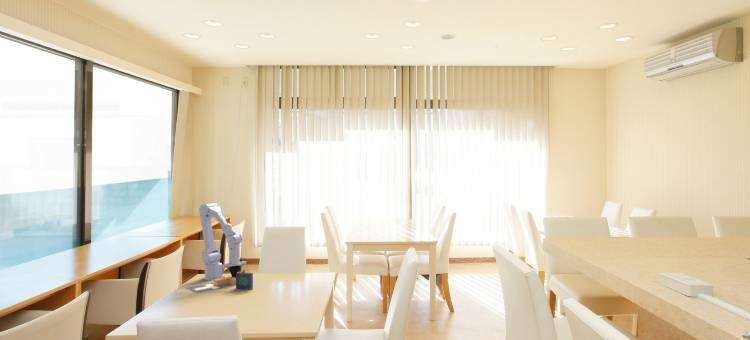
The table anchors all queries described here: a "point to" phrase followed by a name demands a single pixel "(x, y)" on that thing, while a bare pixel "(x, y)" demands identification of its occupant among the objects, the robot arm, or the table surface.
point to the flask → (244, 280)
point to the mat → (207, 287)
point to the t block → (225, 281)
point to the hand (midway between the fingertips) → (234, 279)
